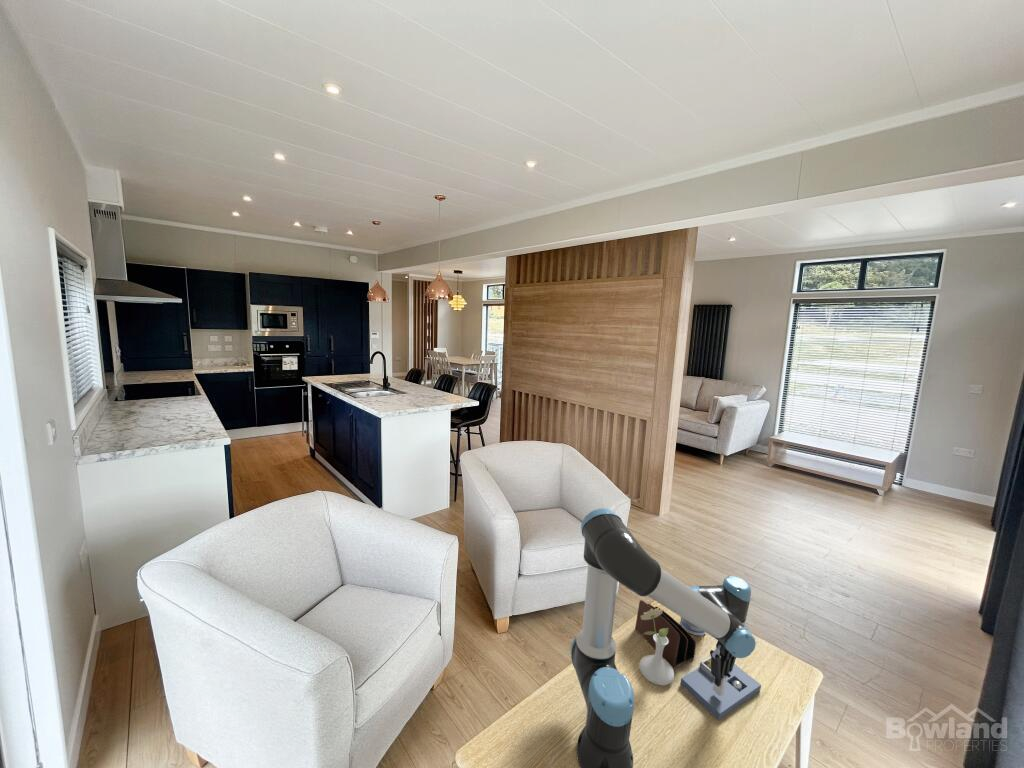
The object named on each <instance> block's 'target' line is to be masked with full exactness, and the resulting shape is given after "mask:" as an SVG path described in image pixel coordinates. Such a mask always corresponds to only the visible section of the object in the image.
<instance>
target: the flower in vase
mask: <svg viewBox="0 0 1024 768" xmlns="http://www.w3.org/2000/svg"><path fill="white" fill-rule="evenodd" d="M659 608H660V607H659ZM659 608H657V609H654V610H653V609H650V611H647V612H644V613H643V614H644V615H642V616H640V617H641V619H642V620H649V619H653V621H654V618H656V617H658V616H659V615H661V614H662V612H663V611H664V610H663V608H660V610H659ZM654 629H655V622H654ZM654 633H656V630H655V632H652V631H648V632H645V633H644V634H647V635H652V634H654ZM667 633H668V628H663V629H660V630H659V633H656V634H654V635H653V639H654V641H655V643H656V650H655V652H654V654H648V655H644V656H643V657H642V658H641V659H640V661H639V664H638V667H639V670H640V672H641V674H642V675H643V677H644V678H645V679H646V680H647V681H649V682H650V683H652V684H655V685H658V686H667V685H669V684H671V683H672V682H673V681H674V679H675V671H674V668H673V667H672V666H671V665H670V664H669V663H668V662H667V661H666V660H665V659H664V658H663V657H662V653H663V649H664V647H665V645H667V644H668V643H669V640H668V638H667V637H666V635H667ZM644 634H643V635H644Z"/></svg>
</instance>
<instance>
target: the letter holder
mask: <svg viewBox="0 0 1024 768" xmlns="http://www.w3.org/2000/svg"><path fill="white" fill-rule="evenodd" d="M657 608H659V610H660V609H661V608H660V607H659V606H654V605H652V604H651V603H647V602H645V601H644V600H642V599H640V600H639V602H638V609H637V615H636V621H635V627H634V628H635V629H634V630H635V631H637V632H638V634H639V635H640V636H642V638H644V640H646V641H647V643H648V644H649V645H650V646H651V647H652V648H653V649H654V650H655V651H656V643H655V641H654V639H653V635H654V634H656V633H659V630H660V629H663V628H668V633H667V635H666V637H667V638H668V640H669V643H668V644H667V645H665V647H664V649H663V653H662V658H663V659H665V660H666V661H667V662H668V663H669V664H670V665H671V667H672V669H676V668H679V667H680V666H683V665H685V664H688V663H690V662H692V661H694V660H695V655H696V647H697V645H696V644H697V642H696V640H695V638H694V637H693V635H692V634H691V633H689V632H687V631H686V630H685V629H684V628H683V627H682V625H681V623H679V622H678V621H677V620H676V619H674V618H673V617H672V616H670V615H669V614H668V613H667V612H666V611H664V610H663V612H662V614H661V615H659V616H658V617H656V618H654V621H653V619H649V620H642V619H641V617H640V616H642V615H644V614H643V613H644V612H647V611H650V609H653V610H654V609H657ZM654 622H655V629H654ZM655 630H656V633H654V634H652V635H647V634H644V633H645V632H648V631H652V632H655ZM643 634H644V635H643Z"/></svg>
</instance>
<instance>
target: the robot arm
mask: <svg viewBox="0 0 1024 768" xmlns="http://www.w3.org/2000/svg"><path fill="white" fill-rule="evenodd" d="M580 531H581V535H582V537H583V538H584V547H583V560H584V562H585V563H586V564H587V574H586V585H585V587H586V588H585V596H584V597H585V598H584V607H583V619H582V629H581V630H580V631H579V632H578V633H577V634H576V637H574V638H573V640H572V643H571V646H570V658H571V662H572V663H571V664H572V665H573V667H574V670H575V673H576V676H577V680H578V684H579V686H580V689H581V692H582V695H583V698H584V701H585V705H586V719H585V725H584V727H583V728H582V730H581V732H580V733H579V735H578V738H577V743H576V744H577V745H576V757H577V758H578V759H577V758H576V759H577V762H578V765H579V766H580V768H634V767H633V766H634V754H633V751H632V745H631V742H630V737H631V728H632V723H633V722H632V721H633V714H634V711H635V694H634V690H633V689H634V688H633V686H632V684H631V682H630V681H629V679H628V678H627V677H626V676H625V674H624V673H622V674H621V673H620V671H619V670H618V669H617V665H616V662H615V661H616V660H615V659H616V651H617V645H616V641H615V639H614V638H613V627H614V626H613V625H614V616H615V609H616V608H615V606H616V599H617V590H618V583H619V584H621V585H622V586H624V587H625V588H627V589H629V590H630V591H631V592H633V593H635V594H636V595H639V596H640V597H644V598H646V597H649V598H651V599H652V600H654V601H655V602H657V603H658V604H660V605H662V606H663V607H664V608H666V609H667V610H669V611H671V612H673V613H674V614H676V615H677V616H679V617H680V618H681V617H682V618H684V619H685V620H687V621H688V622H690V623H692V624H693V625H695V626H696V627H698V628H699V629H701V630H703V631H704V632H706V633H705V634H708V636H710V637H712V638H714V640H715V639H716V641H717V642H716V644H715V648H716V649H714V650H712V649H711V650H710V651H709V655H710V656H711V674H713V675H714V676H715V679H714V685H713V690H714V691H715V692H716V693H717V694H718V695H719V696H722V695H723V693H724V688H725V682H726V676H727V677H729V678H730V676H731V675H730V674H729V671H730V672H731V671H732V669H733V666H734V664H735V662H736V660H737V659H745V658H748V657H749V656H750V655H751V654H752V653H753V652H754V651H755V649H756V645H757V644H756V643H757V642H756V639H755V637H754V635H753V634H752V633H751V632H750V630H749V628H748V627H746V621H747V616H748V611H749V607H750V603H751V596H752V595H751V594H752V589H751V586H750V584H749V583H747V581H745V580H744V579H742V578H740V577H737V576H734V575H729V576H726V577H724V580H723V581H722V584H721V585H694V586H688V585H687V584H685V583H684V582H682V581H680V580H679V579H678V578H676V577H675V576H673V575H672V574H670V573H668V572H667V571H665V570H664V569H663V568H662V566H661V564H660V562H658V561H657V560H656V559H655V558H653V557H652V556H650V555H649V554H648V553H647V552H646V550H645V549H644V548H643V547H642V546H641V544H640V543H639V542H638V541H637V539H636V538H635V536H634V535H633V534H632V533H631V531H630V530H629V529H628V527H627V526H626V524H625V523H624V522H623V520H622V518H621V517H620V516H619V515H618V514H617V513H616V512H615V511H613V510H611V509H609V508H597V509H593V510H592V511H590V512H589V513H588V514H586V515H585V516H584V518H583V519H582V521H581V524H580Z"/></svg>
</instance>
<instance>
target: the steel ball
mask: <svg viewBox="0 0 1024 768" xmlns="http://www.w3.org/2000/svg"><path fill="white" fill-rule="evenodd" d="M731 685H732V686H733V687H734V688H735V689H737V690H738V691H739V692H740V691H742V684H741V683H740V682H739V681H737V680H734V681H733V682H732V683H731Z"/></svg>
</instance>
